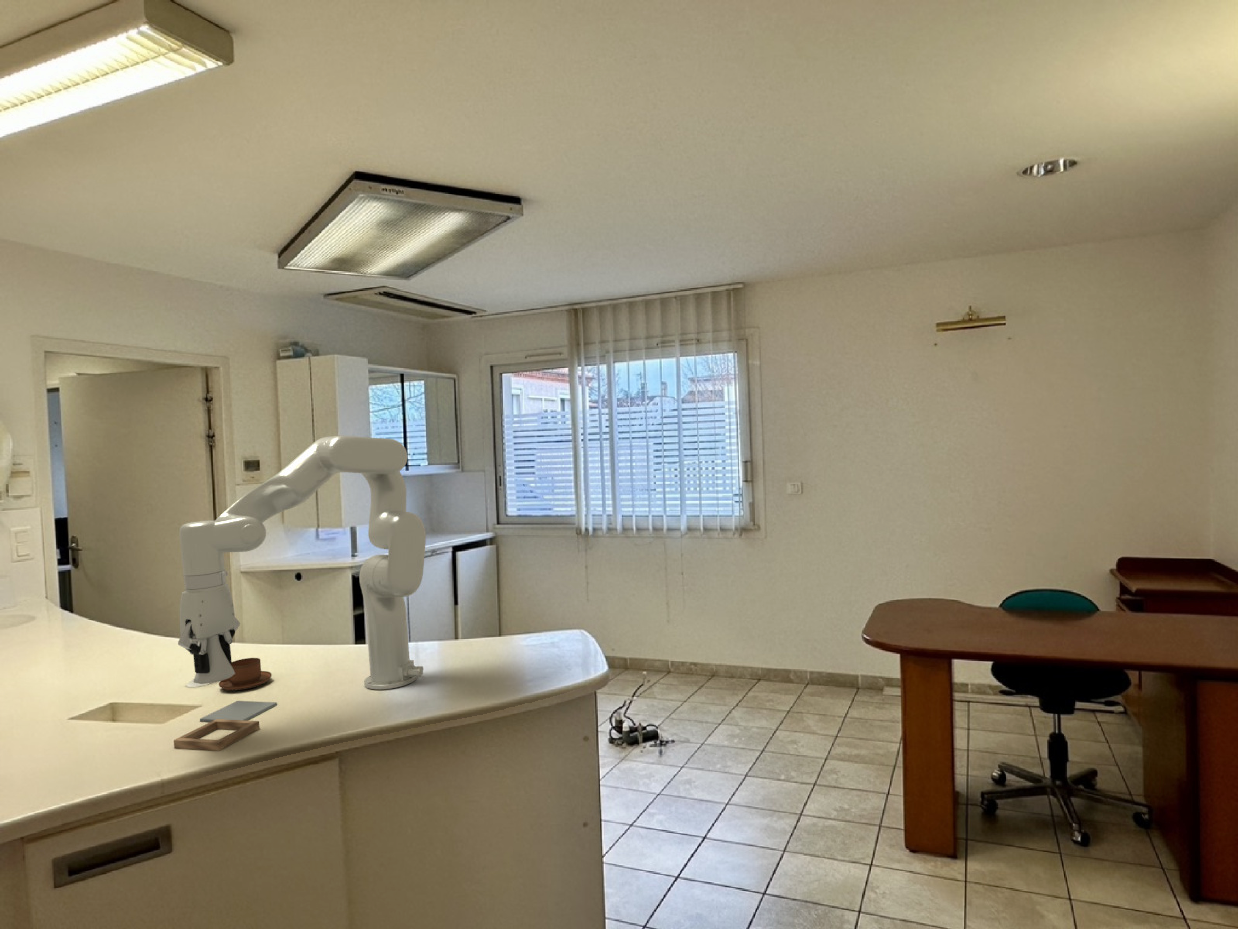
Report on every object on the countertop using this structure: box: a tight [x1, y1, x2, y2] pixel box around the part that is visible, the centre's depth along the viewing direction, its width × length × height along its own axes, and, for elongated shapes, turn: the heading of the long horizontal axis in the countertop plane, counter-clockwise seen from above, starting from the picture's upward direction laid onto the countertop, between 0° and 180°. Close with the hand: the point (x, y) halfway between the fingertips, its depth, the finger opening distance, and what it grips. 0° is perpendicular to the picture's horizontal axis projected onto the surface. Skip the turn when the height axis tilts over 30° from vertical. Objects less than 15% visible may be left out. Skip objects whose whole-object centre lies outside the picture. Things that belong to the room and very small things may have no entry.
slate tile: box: [199, 700, 278, 723], centre depth 166 cm, size 11×11×1 cm
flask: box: [193, 635, 235, 684], centre depth 151 cm, size 7×7×10 cm
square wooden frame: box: [173, 719, 260, 752], centre depth 152 cm, size 11×11×2 cm
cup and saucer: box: [218, 657, 273, 691], centre depth 186 cm, size 12×12×6 cm
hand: (213, 667), depth 152 cm, fingers closed on flask, 4 cm apart
